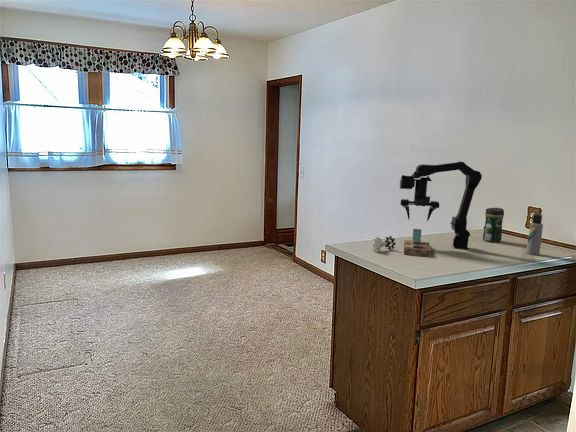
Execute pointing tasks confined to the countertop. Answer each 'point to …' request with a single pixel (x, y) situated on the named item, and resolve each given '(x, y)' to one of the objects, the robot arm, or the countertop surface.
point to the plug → (416, 235)
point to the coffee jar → (493, 224)
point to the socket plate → (417, 248)
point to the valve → (382, 243)
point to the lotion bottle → (535, 235)
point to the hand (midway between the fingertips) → (418, 220)
